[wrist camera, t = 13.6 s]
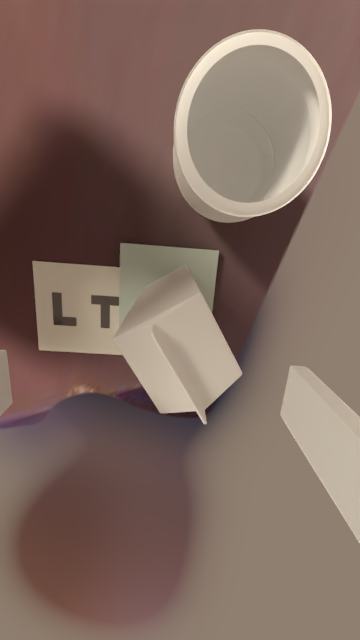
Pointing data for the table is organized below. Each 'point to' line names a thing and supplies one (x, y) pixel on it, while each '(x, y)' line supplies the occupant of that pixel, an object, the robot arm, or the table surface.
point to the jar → (250, 126)
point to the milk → (177, 346)
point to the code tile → (77, 307)
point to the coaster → (162, 270)
